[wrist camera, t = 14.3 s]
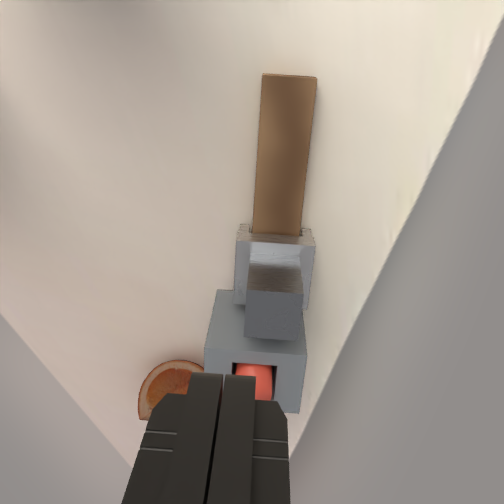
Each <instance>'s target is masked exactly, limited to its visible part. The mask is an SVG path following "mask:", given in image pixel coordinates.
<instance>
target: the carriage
mask: <svg viewBox="0 0 504 504" xmlns="http://www.w3.org/2000/svg"><path fill="white" fill-rule="evenodd" d="M314 254H315V241H314V237H312V232H311V229H302V231H301V236H288V235H274V234H260V233H249V225H246V224H240V229H239V232H238V234H237V239H236V256H235V276H234V296H233V304H242V305H245V320H244V336H243V337H251V338H264V339H278V340H291V341H298V337H299V329H300V321H301V313H302V309H307V306H308V299H309V291H310V284H311V276H312V269H313V261H314Z"/></svg>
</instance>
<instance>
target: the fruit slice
mask: <svg viewBox="0 0 504 504" xmlns="http://www.w3.org/2000/svg"><path fill="white" fill-rule="evenodd" d="M192 372H204V368H203V367H201V366H199V365H198V364H195V363H193V362H189V361H183V360H173V361H168V362H165V363H162V364H160V365H158V366H157V367H156V368H154V369H153V370H152V371H151V372H150V373H149V375H148V376H147V377H146V379H145V380H144V382H143V384H142V386H141V389H140V392H139V398H138V414H139V419H140V420H149V418H150V415H151V412H152V409H153V408H154V407H155V406H156V405H157V403H158V402H159V401H160V400H161V399H162V398H163V397H164V396H165V395H166V393H174V394H187V389H188V385H189V381H190V377H191V374H192Z"/></svg>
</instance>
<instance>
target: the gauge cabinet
mask: <svg viewBox="0 0 504 504" xmlns="http://www.w3.org/2000/svg"><path fill="white" fill-rule="evenodd" d="M233 296H234V291H229V290H217V293H216V298H215V302H214V307H213V311H212V316H211V320H210V325H209V329H208V334H207V338H206V343H205V347H204V373H217V374H223V388H224V381H225V375H226V374H232V375H235V373H236V365H237V363H248V364H261V365H272V397H271V400H270V401H277V402H278V403H279V405H280V407H281V409H282V411H283V412H285V413H298V414H299V411H300V404H301V396H302V389H303V382H304V375H305V368H306V361H307V349H306V340H305V330H304V321H303V312H302V313H301V321H300V329H299V337H298V341H291V340H278V339H264V338H251V337H243V336H244V320H245V305H242V304H233Z"/></svg>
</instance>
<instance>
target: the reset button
mask: <svg viewBox="0 0 504 504" xmlns="http://www.w3.org/2000/svg"><path fill="white" fill-rule="evenodd" d="M235 375H245V376H256V390H255V400H267V401H270V400H271V397H272V365H261V364H248V363H237V365H236V373H235Z"/></svg>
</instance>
